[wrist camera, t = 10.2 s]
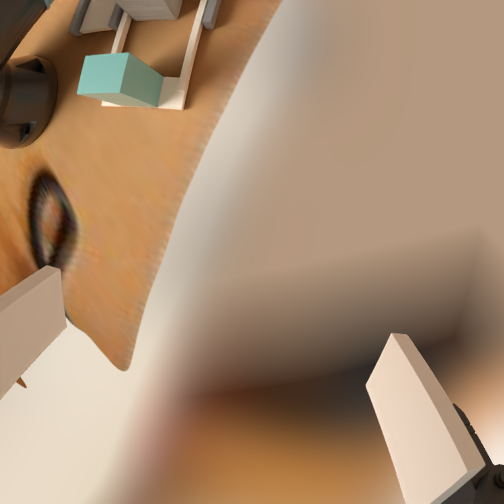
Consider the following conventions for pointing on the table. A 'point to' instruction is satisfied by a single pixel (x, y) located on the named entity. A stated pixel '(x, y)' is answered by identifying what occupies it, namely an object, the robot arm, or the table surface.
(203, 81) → the table surface
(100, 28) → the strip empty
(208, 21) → the lane bed
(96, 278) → the table surface
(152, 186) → the table surface
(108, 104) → the white and teal frame
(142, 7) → the skincare box
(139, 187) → the table surface
